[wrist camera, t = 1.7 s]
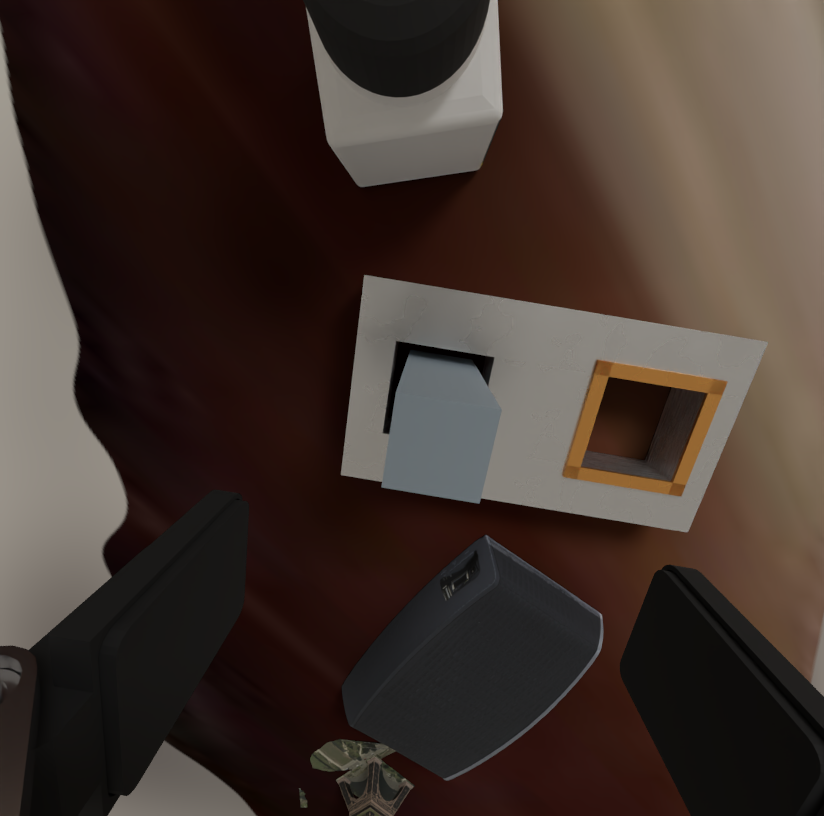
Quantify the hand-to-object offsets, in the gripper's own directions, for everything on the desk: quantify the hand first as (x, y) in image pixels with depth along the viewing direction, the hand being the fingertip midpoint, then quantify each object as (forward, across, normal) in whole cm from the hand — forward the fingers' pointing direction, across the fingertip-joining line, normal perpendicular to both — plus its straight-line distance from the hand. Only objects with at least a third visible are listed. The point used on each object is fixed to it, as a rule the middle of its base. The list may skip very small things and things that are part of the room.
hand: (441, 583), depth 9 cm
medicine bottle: (+18, +4, -16) cm, 24 cm away
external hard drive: (+19, -6, +21) cm, 29 cm away
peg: (+18, 0, -1) cm, 18 cm away
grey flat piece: (+18, -6, -1) cm, 19 cm away
